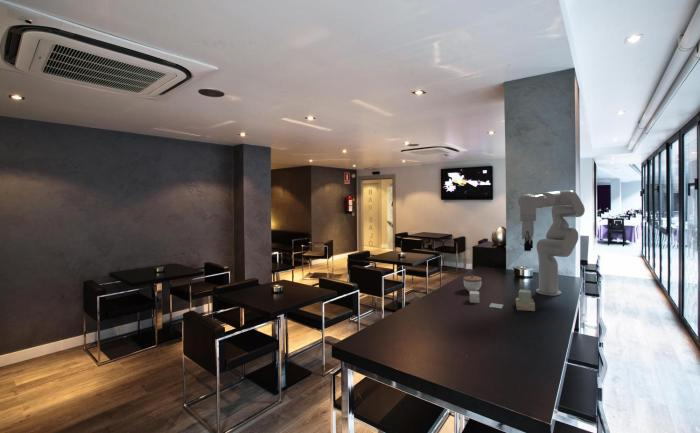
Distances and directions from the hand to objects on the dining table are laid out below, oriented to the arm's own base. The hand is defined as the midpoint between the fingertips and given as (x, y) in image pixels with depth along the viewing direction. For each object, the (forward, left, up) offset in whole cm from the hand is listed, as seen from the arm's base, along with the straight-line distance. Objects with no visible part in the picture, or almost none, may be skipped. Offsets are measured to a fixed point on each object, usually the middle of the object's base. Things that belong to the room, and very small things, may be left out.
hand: (528, 249), depth 180 cm
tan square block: (+13, -1, -29) cm, 32 cm away
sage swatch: (+17, -14, -28) cm, 36 cm away
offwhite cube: (+13, -26, -28) cm, 41 cm away
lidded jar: (-8, -32, -28) cm, 44 cm away
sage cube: (+13, -1, -25) cm, 28 cm away
